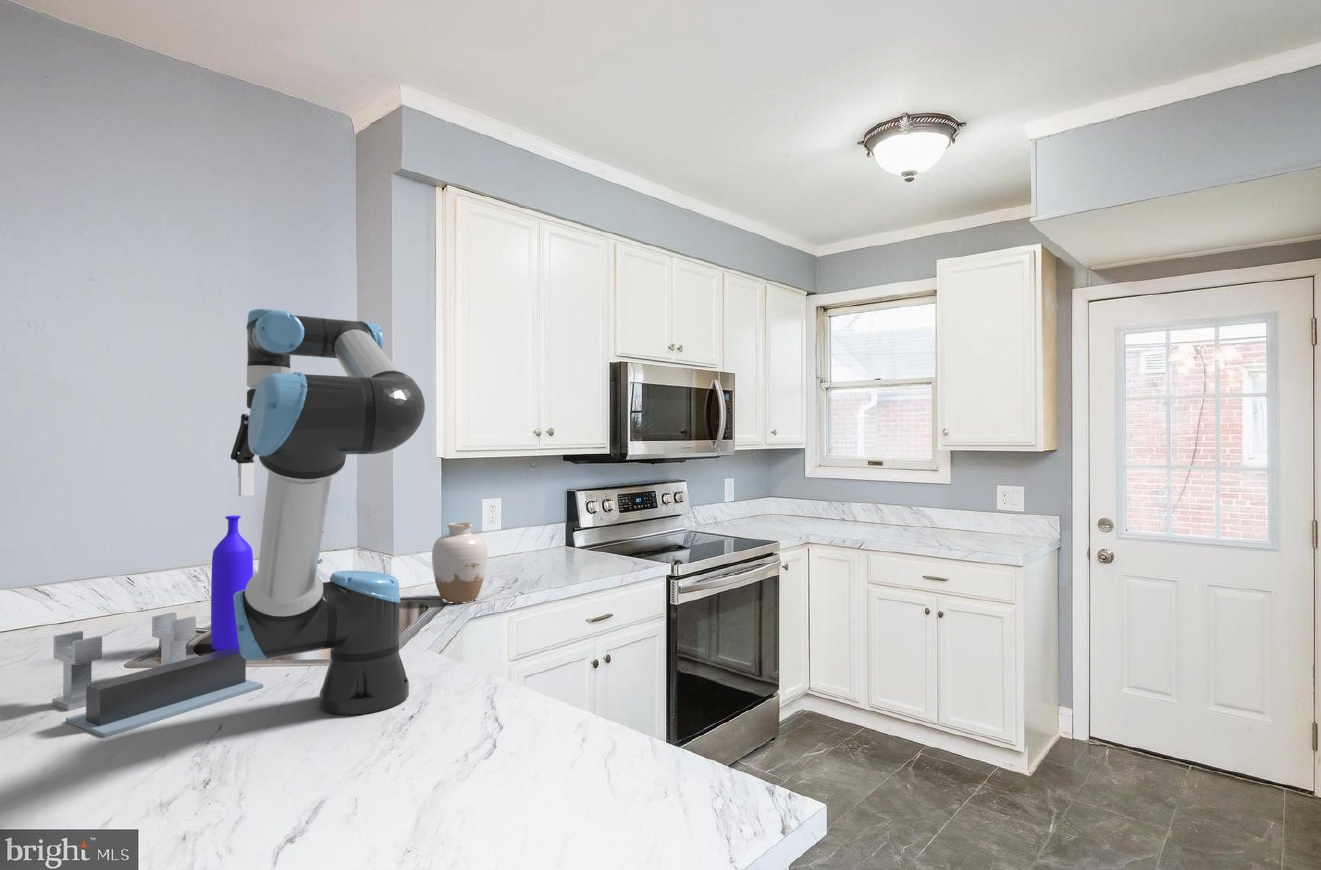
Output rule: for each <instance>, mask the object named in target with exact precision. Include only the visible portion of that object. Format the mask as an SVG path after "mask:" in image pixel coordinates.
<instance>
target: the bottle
mask: <svg viewBox="0 0 1321 870" xmlns="http://www.w3.org/2000/svg"><path fill="white" fill-rule="evenodd" d="M224 518H225V520H227V532H226V535H225V536H224V537H223V538H222V539H221V540H220V541H219V542H218V544H217V545H216V546H215V548H214V549H213V551H212V557H211V558H212V560H211V577H210V579H211V580H210V583H211V584H210V585H211V586H210V638H211V639H210V641H211V642H210V643H211V648H212V650H213V651H215V652H218V651H222V650H226V649H230V648H235V649H239V643H238V634H237V625H236V618H235V608H234V598H233V596H234V594H235V593H236V592H239V591H241V590H245V589H246V586H247V583H248V581H249V580H250V579H251V578H252V577H253V576H254V558H253V557H254V556H253V555H254V554H253V549H252V547H251V545H250V544H249V542H248V541H247V540H246V539H245V538H243V536H242V535H241V534H240V533H239V519H241V515H227V516H225V517H224Z"/></svg>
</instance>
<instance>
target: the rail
mask: <svg viewBox="0 0 1321 870" xmlns="http://www.w3.org/2000/svg"><path fill="white" fill-rule="evenodd" d="M246 664H247V660H246V659H244V658H243V657H242V656H241V654H240V650H239V649H235V648H230V649H226V650H222V651H215V652H211V653H207V654H202V655H200V656H196V657H191V658H188V659H187V658H186V660H183V661H179V662H175V663H171V664H167V665H163V666H161V665H160V666H156V667H152V668H148V669H144V670H140V671H136V672H133V673H132V672H131V673H129V674H125V675H124V674H123V675H121V676H117V677H113V678H109V679H105V680H101V681H97V682H93V683H91V684H89V685H86V706H85V710H86V711H85V713H86V721H87V722H89V723H92V724H95V725H97V726H103V725H106V724H109V723H113V722H116V721H119V720H123V719H126V718H129V717H133V716H136V715H139V714H142V713H146V712H149V711H152V710H156V709H159V708H162V707H166V706H169V705H172V704H176V703H179V702H182V701H185V700H189V699H192V698H195V697H199V696H202V695H205V694H209V693H212V692H215V691H218V690H222V689H225V688H228V687H232V686H235V685H238V684H242V683H245V682H246V680H247V676H246V674H247V673H246V672H247V669H246V668H247V667H246V666H247V665H246Z"/></svg>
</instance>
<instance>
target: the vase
mask: <svg viewBox="0 0 1321 870" xmlns="http://www.w3.org/2000/svg"><path fill="white" fill-rule="evenodd" d="M472 527H473V523H471V522H451V523H448V524H447V528H448V531H449V532H448V533H449V534H445V535H442V536H440V537H438V538H437V539H436V541H435V542H434V544H433V548H432V552H431V564H432V571H433V578H434V582H435V586H436V589H437V591H438V594H439V597H440V599H441V598H442V599H445V600H447V601H449V602H453V603H463V602H469V601H472V600H475V599H476V598H477V599H478V596H479V594H480V592H481V589H482V587H483V582H484V579H485V576H486V569H487V563H488V548H487V544H486V541H485V539H484V538H483V537H482V536H480V535H478V534H474V533H472V532H471V531H472ZM442 599H441V600H442ZM477 599H476V600H477ZM476 600H475V601H476ZM469 603H470V602H469ZM463 604H464V603H463Z"/></svg>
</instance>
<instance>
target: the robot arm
mask: <svg viewBox="0 0 1321 870" xmlns="http://www.w3.org/2000/svg"><path fill="white" fill-rule="evenodd" d="M246 330H247V335H246V336H247V339H246V341H247V347H246V348H247V363H246V365H247V366H246V386H247V387H248V388H250V389H248V390H247V391H246V407H247V408H248V409H250V410H249V413H242V414H241V415H240V425H239V428H238V431H237V434H236V437H235V440H234V444H233V446H232V447H233V448H232V451H231V454H230V460H232V461H236V463H237V464H238V467H237V468H238V469H237V471H238V497H246V496H247V497H249V496H255V460H254V457H255V456H258V460H259V462H260V464H261V466H262V467H263V468H265V470H266V471H268V475H267V484H266V491H265V501H264V511H263V521H262V531H261V540H260V541H261V542H260V548H259V549H260V550H259V557H258V567H257V572H256V573H255V574H253V577H252V578H251V579H250V580H249V581H248V583H247V586H246V589H245V590H241V591H239V592H236V593H235V594H234V596H233V598H234V608H235V618H236V625H237V634H238V643H239V650H240V654H241V656H242V657H243V658H244V659H246V661H247V660H248V661H255V660H256V661H257V660H270V659H273V658H280V657H286V656H291V655H298V654H303V653H310V652H316V651H321V650H327V649H330V657H329V658H330V660H329V664H328V667H327V671H326V673H325V677H324V681H323V684H322V686H321V689H320V691H319V694H318V695H319V696H318V697H319V700H318V704H319V705H318V706H319V708H320V710H322V711H324V712H326V713H329V714H335V715H348V716H349V715H363V714H368V713H369V714H370V713H375V712H379V711H382V710H386V709H390V708H392V707H394V706H397V705H399V704H401V703H403V702H404V701H405V700H406V699H407V698H408V697H409V695H410V683H409V679H408V676H407V675H406V670H405V667H404V664H403V661H402V658H401V655H400V603H401V595H400V584H399V581H398V579H397V578H396V577H395V576H394V575H391V574H389V573H385V572H384V573H383V572H378V571H368V570H340V571H335V572H332V573H331V575H330V577H329V581H322V578H320V576H319V575H318V574H317V571H318V565H319V559H320V553H321V545H322V540H323V535H324V534H323V532H324V527H325V520H326V516H327V515H326V514H327V508H328V502H329V494H330V488H331V481H332V477H334V476H336V475H337V474H338V473H339V472H340V471H342V470H343V468H344V467H345V462H346V459H347V455H376V454H382V453H386V452H388V451H392V450H394V449H396V448H398V447H399V446H402V445H403V444H404V443H406V442H407V441H409V440H410V439H411V437H413V436H414V434H415V433H416V432H417V431H418V429H419V427H420V426H421V424H422V422H423V419H424V415H425V411H426V407H425V406H426V404H425V403H426V401H425V398H424V395H423V392H422V390H421V389H420V387H419V385H418V384H417V383H416V381H415V380H414V379H413V378H412V377H411V376H409V375H408V374H406V373H405V372H402V371H399V370H398V369H397V368H396V365H394V364H393V362H392V361H391V360H390V358H389V357H388V355H386V353H385V352H384V351H383V350H384V349H383V348H384V334H383V329H382V328H381V326H380V325H379V324H376V323H374V322H373V323H371V322H367V321H364V320H346V319H335V318H325V317H324V318H323V317H314V316H313V317H312V316H307V315H306V316H305V315H304V316H303V315H294V314H293V313H291V312H289V311H286V310H279V309H272V308H257V309H251V310H250V311H249V312H248V314H247V324H246ZM291 356H296V357H297V356H298V357H299V356H301V357H314V358H315V357H316V358H329V359H336V360H338V362H339V364H340V365H341V366H342V368H343V370H344V372H345V373H346V375H347V376H346V375H324V374H323V375H322V374H305V373H303V372H299V371H296V372H295V371H294V372H292V373H291Z"/></svg>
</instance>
